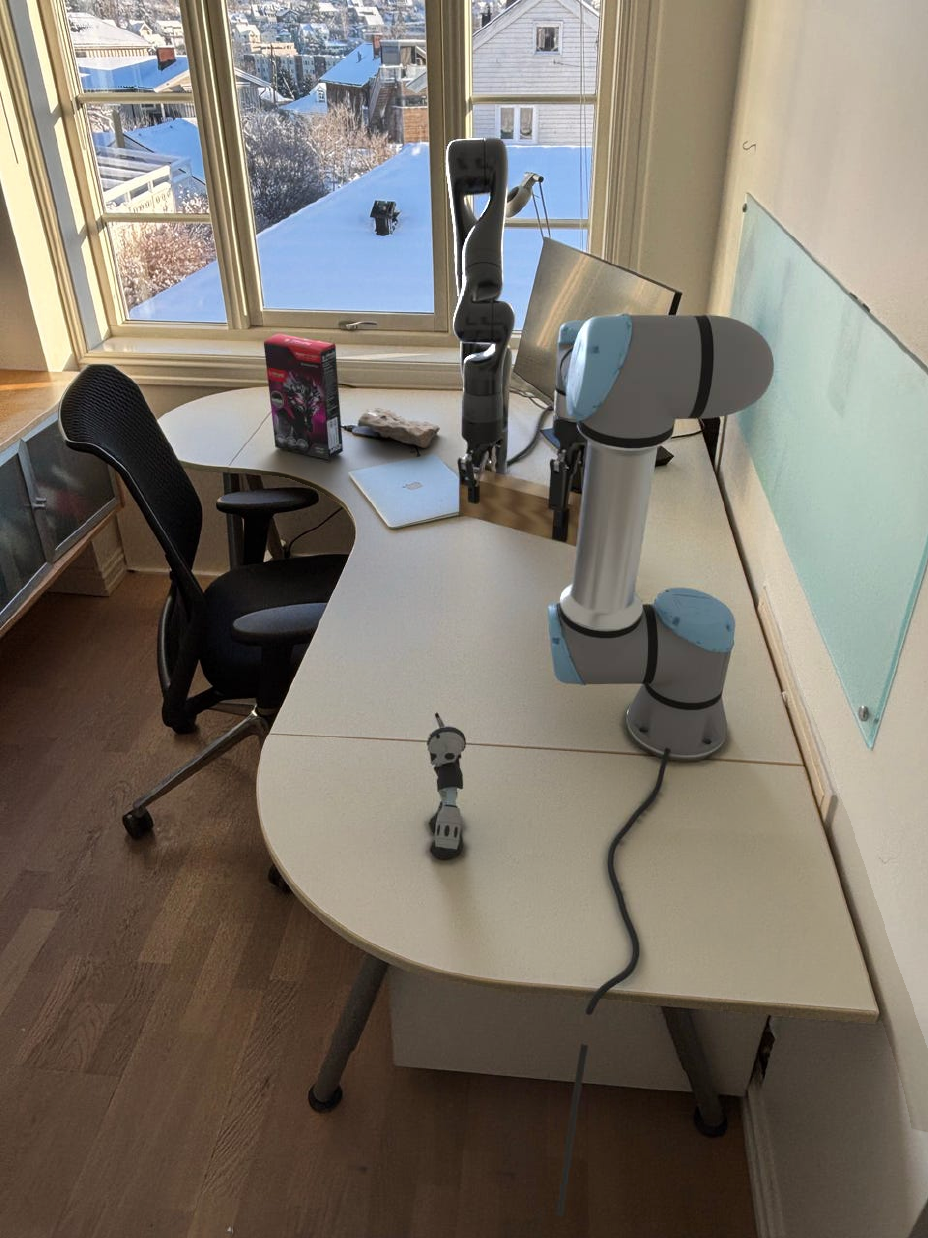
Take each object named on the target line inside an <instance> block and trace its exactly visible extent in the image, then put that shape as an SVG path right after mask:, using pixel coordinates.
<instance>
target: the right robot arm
mask: <svg viewBox="0 0 928 1238" xmlns="http://www.w3.org/2000/svg"><path fill="white" fill-rule="evenodd" d="M556 346H557V349H556V350H557V351H556V353H557V354H556V369H555V370H556V373H555V385H554V391H553V393H552V397H553V398H554V402H553V412H554V414H553V415H552V426H551V427H552V428H551V434H552V437H554V438H555V439H556V440H557V441H558V442H559V445H558V448H557V453H556V456H557V457H556V459H555V458H551V459H550V460H549V470H550V474H549V476H550V477H549V486H550V488H549V503H548V509H550V510H554V516H553V530H552V539H555V540H558V541H562V542H566V541H567V533H568V520H569V509H567V506H568V501H569V495H570V492H573V493H577V494H581V495H582V500H581V510H580V519H579V529H578V538H577V546H576V547H575V548H576V549H575V556H574V557H575V560H574V568H573V575H572V576H573V577H572V583H571V584H569V585H567V586H566V587H565V588H564V590H563V591H562V592H561V595H560V597H559V602H555V603H553V604H549V605H548V607H547V619H548V620H547V621H548V632H549V642H550V643H549V644H550V651H551V652H550V653H551V660H552V661H551V662H552V668H553V674H554V676H555V678H556V679H557V681H559V682H561V683H563V684H568V685H569V684H570V685H571V684H572V685H581V686H587V685H635V684H636V685H640V688H639V689H638V691H637V692H636V694H635V695H634V697H633V699H632V701H631V702H630V704H629V706H628V708H627V712H626V719H625V728H626V732H627V734H628V736H629V738H630V739H631V741H632V742H634V744H636V745H637V746H638V747H639V748H640V749H641V750H643V751H645V752H646V753H648V754H650V755H651V756H654V757H656V758H659V759H661V763H660V765H659V766H660V767H659V771H658V774H657V780H656V783H655V785H654V788H653V789H652V791H651V793H650V794H649V796H648V797H647V798H646V799H645V801H643V803H642V804H641V805H640V806H639V807H638V808H637V809H636V810H635V811H634V812H633V814H632V815H631V816H630V818H629V819H628V820H627V822H626V823H625V824H624V825H623V826H622V828H621V829H620V830H619V831H618V833H617V834H616V835H615V837H614V838H613V839H612V841H611V844H610V846H609V850H608V853H607V861H606V862H607V871H608V876H609V879H610V882H611V885H612V888H613V891H614V894H615V896H616V899H617V903H618V907H619V911H620V914H621V917H622V919H623V922H624V924H625V927H626V929H627V931H628V935H629V937H630V940H631V945H632V946H631V947H632V953H631V959H630V962H629V963H628V965H627V967H626V968H624V969H623V970H622V971H621V972H620V973H618V974H616V975H615V976H614V977H612V978H610V979H609V980H608V981H606V982H605V983H603V984H602V985H601V986H600V987H599V988H598V989H597V990H596V992H595V993H594V994H593V995H592V997H591V998H590V1000H589V1002H588V1004H587V1006H586V1008H585V1014H586V1015H588V1016H590V1015H592V1014H593V1013H594V1011H595V1008H596V1006H597V1004H598V1003H599V1001H600V1000H601V998H602V997H603V996H604V995H605V994H606V993H607V992H608V991H610V990H611V989H612V988H613V987H615V986H616V985H618V984H620V983H621V982H623V981H624V980H625V979H627V978H628V977H629V976H630V975H631V974H632V973H633V972H634V970H635V969H636V966H637V965H638V961H639V958H640V942H639V938H638V935H637V932H636V928H635V927H634V924H633V923H632V920H631V918H630V915H629V913H628V910H627V905H626V902H625V899H624V895H623V892H622V889H621V887H620V884H619V881H618V878H617V875H616V871H615V865H614V862H615V861H614V860H615V852H616V850H617V847H618V845H619V844H620V842H621V840H622V839H623V838H624V837H625V835H626V834H627V833H628V832H629V830H630V829H631V828H632V827H633V825H634V824H635V823H636V821H637V820H638V818H639V817H640V816H641V815H642V814H643V813H644V812H645V810H646V809H647V808H648V807H649V806H650V805H651V804H652V803H653V801H654V800H655V799H656V797H657V796H658V794H659V792H660V791H661V788H662V785H663V781H664V777H665V772H666V768H667V764H668V761H670V762H675V763H694V762H700V761H703V760H706V759H709V758H711V757H714V755H716V754H718V752H720V751H721V750H722V748H723V747H724V744H725V743H726V740H727V739H726V738H727V733H728V721H727V716H726V712H725V708H724V707H725V706H724V701H723V692H724V686H725V682H726V678H727V674H728V673H727V672H728V668H729V664H730V659H731V654H732V651H733V649H734V646H735V632H736V620H735V617H734V614H733V612H732V611H731V609H730V608H729V607H728V606H727V605H726V604H725V603H724V602H723V601H722V600H720V599H718V598H717V597H715V596H713V595H711V594H710V593H707V592H704V591H702V590H698V589H695V588H690V587H671V588H670V587H669V588H667V589H665V590H663V591H660V592H659V593H658V594H657V596H656V597H655V599H654V602H653V603H643V600H642V598H641V596H640V595H639V594H638V592H636V585H637V579H638V573H639V566H640V561H641V554H642V548H643V543H644V536H645V530H646V523H647V516H648V511H649V504H650V497H651V492H652V484H653V480H654V479H653V478H654V473H655V466H656V460H657V454H658V448H660V447H662V446H663V445H665V444H666V443H668V442H669V441H670V440H671V439H672V437H673V434H674V430H675V424H676V420H698V419H699V420H701V419H703V420H704V419H714V418H720V417H726V416H730V415H733V414H736V413H738V412H740V411H741V412H742V411H743V410H746V409H747V408H749V407H750V406H752V405H754V404H755V403H756V402H758V401H759V400H760V399H761V398H762V397H763V395H764V394H765V393H766V392H767V390H768V388H769V386H770V385H771V382H772V379H773V376H774V369H775V363H774V357H773V352H772V349H771V347H770V345H769V343H768V341H767V340H766V338H765V337H764V336H763V335H762V334H761V333H760V332H759V331H758V330H756V329H755V328H753V327H752V326H750V325H749V324H747V323H745V322H742V321H740V320H739V319H735V318H733V317H728V316H723V315H722V316H721V315H715V314H714V315H713V314H702V315H691V314H689V315H687V314H684V315H683V314H676V315H675V314H669V315H668V314H629V313H627V312H623V313H619V314H612V315H611V314H610V315H597V316H593V317H591V318H589V319H588V320H571V321H567V322H565V323H563V324H562V325H561V326H560V327H559V329H558V339H557V342H556ZM588 1048H589V1046H588V1045H586V1044H583V1043H581V1044H580V1049H579V1055H578V1060H577V1067H576V1073H575V1078H574V1086H573V1093H572V1099H571V1106H570V1112H569V1121H568V1127H567V1135H566V1142H565V1148H564V1149H565V1151H564V1158H563V1164H562V1165H563V1166H562V1171H561V1180H560V1189H559V1195H558V1203H557V1208H556V1216H557V1217H559V1218H561V1217H562V1216H563V1215H564V1214H563V1213H564V1207H565V1200H566V1194H567V1188H568V1179H569V1172H570V1166H571V1159H572V1153H573V1152H572V1150H573V1143H574V1137H575V1131H576V1123H577V1115H578V1111H579V1110H578V1109H579V1102H580V1096H581V1092H582V1091H581V1090H582V1085H583V1078H584V1071H585V1065H586V1061H587V1060H586V1059H587V1054H588Z"/></svg>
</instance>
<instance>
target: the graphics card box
mask: <svg viewBox="0 0 928 1238" xmlns="http://www.w3.org/2000/svg"><path fill="white" fill-rule="evenodd" d="M336 347H337V345H336V343H335V342H326V341H321V340H314V339H309V338H304V337H299V336H295V335H294V336H293V335H288V334H283V333H277V334H275V335H272V336H270V337H268V338H266V339H265V340H264V341H263V350H264V357H265V358H264V360H265V367H266V373H267V374H266V376H267V383H268V394H269V401H270V410H271V411H270V412H271V420H272V429H273V438H274V446H275V448H277V449H282V450H286V451H290V452H295V453H299V454H302V455H303V454H304V455H308V456H311V457H315V458H320V459H324V460H330V459H332V458H334V457H336V456H338V455H339V454H341V453H342V452H344V445H343V432H342V418H341V404H340V392H339V379H338V378H339V375H338V362H337V348H336Z"/></svg>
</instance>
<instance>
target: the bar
mask: <svg viewBox="0 0 928 1238" xmlns="http://www.w3.org/2000/svg"><path fill="white" fill-rule="evenodd" d="M473 468H474V469H478V470H479V468H475V467H473ZM475 478H476V474H474V479H475ZM458 484H459V485H458V514H459V515H462V516H465V517H469V518H472V519H476V520H479V521H483V522H486V523H490V524H493V525H497V526H500V527H504V528H508V529H511V530H515V531H518V532H521V533H525V534H529V535H532V536H537V537H540V538H544V539H547V540H551V541H554V542H557V543H561V544H563V545H569V546H572V547H575V548H577V538H578V529H579V519H580V510H581V500H582V495H581V494H577V493H573V492H570V495H569V501H568V506H567V509H569V520H568V533H567V541H566V542H562V541H558V540H555V539H552V530H553V516H554V510H550V509H548V503H549V488H550V485H545V484H542V483H537V482H534V481H530V480H527V479H522V478H518V477H514V476H511V475H507V474H506V475H503V474H499V473H495V472H491V471H487V470H484V474H483V475H481V478H480V484H479V486H480V493H479V502H478V503H477V504H474V503H470V502H468V486H466V485H461V482H460V476H459V475H458Z"/></svg>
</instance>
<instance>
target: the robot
mask: <svg viewBox="0 0 928 1238" xmlns="http://www.w3.org/2000/svg"><path fill="white" fill-rule="evenodd" d="M434 717H435V720H436V723H437V726H438V727H437V728H436V729H435V730H433V731H432V732H431V733H430V734H429V735H428V737H427V739H426V746H427V751H428V753H429V756H430V759H429V761H430V765H431V766H434V767H433V770H434V772H435V775H436V776H437V778H436V788H437V789H436V790H437V792H438V794H439V797H440V800H441V801H440V802H439V804H438V806H437V810H436V811H435V813H434V815H432V817H431V818H430V820H429V822H428V824H429V827H430V829H431V831H432V832H433V833H434V838H433V840H432V842H431V845H430V848H429V852H430V853H431V854H432V856H434V857H435V859H438V860H442V861H445V860H451V859H453V858H456V857H458V856H460V855H461V854H462V852H463V848H464V841H463V840H464V838H463V835H462V832H461V831H462V827H463V825H462V820H463V819H462V814H461V809H460V808H459V807H458V806H457V801H456V800H457V799H458V795H459V793H458V789H459V790H463V789H464V776H463V771H462V768H461V762H460V760H461V759H462V752H464V751H465V749H466V747H467V738H466V736H465V733H464V732H462V730H460V729H459V728H457V727H456V726H452V725H445V723H444V721H443V719H442V718H441V716H440V714H439V713H438V712H435V714H434Z"/></svg>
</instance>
